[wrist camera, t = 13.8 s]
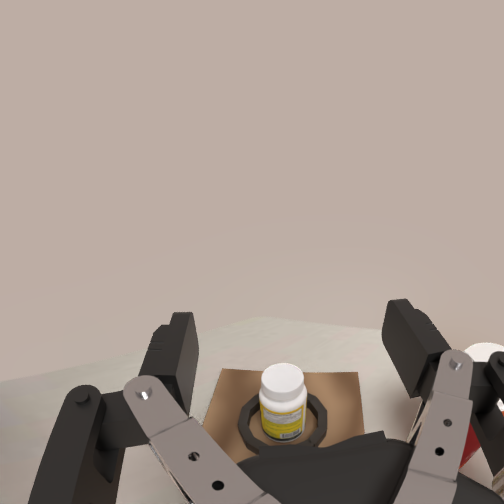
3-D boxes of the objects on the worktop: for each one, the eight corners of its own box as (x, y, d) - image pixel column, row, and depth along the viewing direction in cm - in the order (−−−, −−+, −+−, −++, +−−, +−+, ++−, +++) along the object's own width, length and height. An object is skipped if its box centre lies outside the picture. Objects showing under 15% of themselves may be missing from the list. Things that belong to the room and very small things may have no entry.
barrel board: (184, 486, 25) (179, 476, 24) (223, 373, 41) (220, 360, 40) (366, 498, 22) (371, 488, 21) (356, 377, 38) (359, 363, 37)
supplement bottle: (275, 406, 34) (273, 354, 31) (312, 419, 32) (316, 367, 29) (253, 434, 31) (247, 384, 27) (292, 449, 28) (294, 401, 25)
